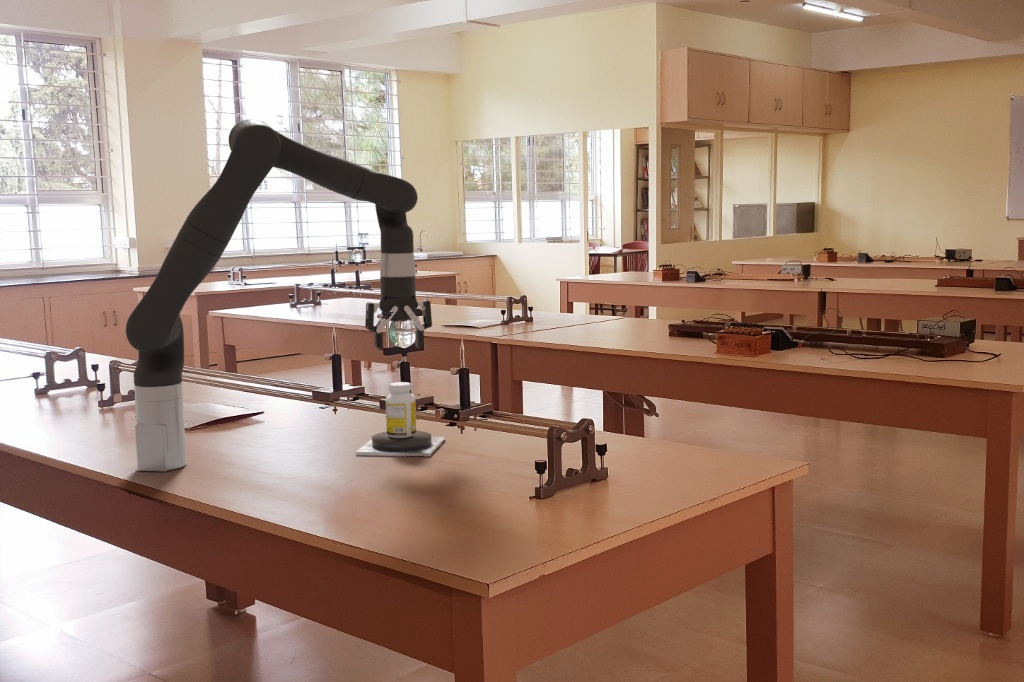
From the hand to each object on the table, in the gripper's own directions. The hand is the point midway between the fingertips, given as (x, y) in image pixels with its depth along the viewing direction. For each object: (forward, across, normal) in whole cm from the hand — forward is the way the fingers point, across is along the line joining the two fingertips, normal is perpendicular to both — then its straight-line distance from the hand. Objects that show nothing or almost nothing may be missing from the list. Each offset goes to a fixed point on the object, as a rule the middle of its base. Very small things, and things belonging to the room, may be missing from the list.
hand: (399, 349), depth 216 cm
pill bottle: (+20, 0, 0) cm, 20 cm away
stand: (+22, 0, 0) cm, 22 cm away
